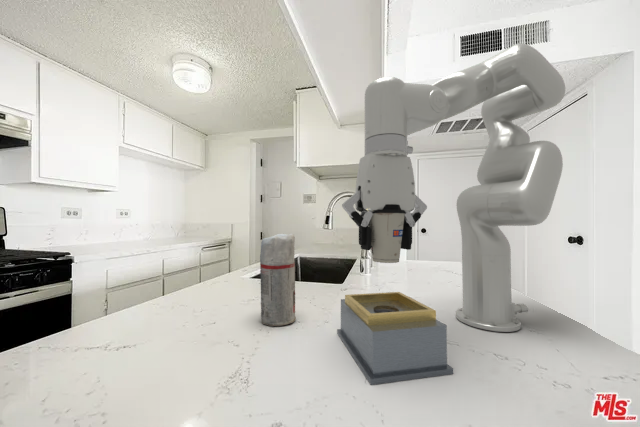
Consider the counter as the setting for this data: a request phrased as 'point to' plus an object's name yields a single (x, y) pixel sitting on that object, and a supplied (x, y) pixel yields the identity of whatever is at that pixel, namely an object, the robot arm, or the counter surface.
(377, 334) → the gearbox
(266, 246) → the spray can
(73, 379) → the counter surface
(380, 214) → the coffee cup
